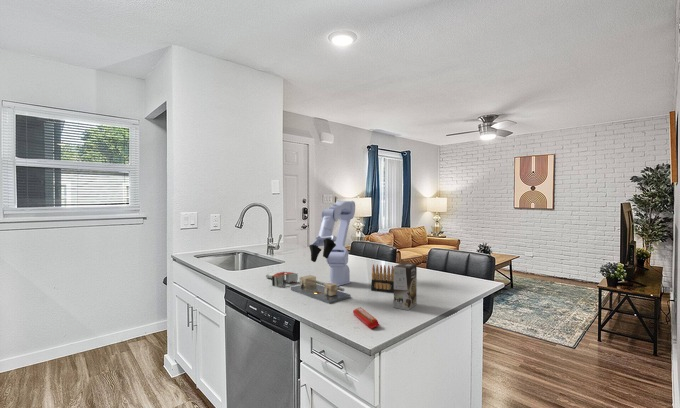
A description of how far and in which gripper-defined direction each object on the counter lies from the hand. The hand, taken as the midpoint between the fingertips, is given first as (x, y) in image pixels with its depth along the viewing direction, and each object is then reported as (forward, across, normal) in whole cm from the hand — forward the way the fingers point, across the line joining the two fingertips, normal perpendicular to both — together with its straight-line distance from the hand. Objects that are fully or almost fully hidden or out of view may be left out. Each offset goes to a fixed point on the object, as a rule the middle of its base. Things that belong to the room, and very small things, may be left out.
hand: (319, 259), depth 141 cm
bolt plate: (+8, -10, +12) cm, 18 cm away
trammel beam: (+7, -10, +12) cm, 17 cm away
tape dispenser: (0, -38, +8) cm, 39 cm away
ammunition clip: (+2, +8, +33) cm, 34 cm away
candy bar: (+25, +23, +9) cm, 35 cm away
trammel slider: (+10, -2, +12) cm, 16 cm away
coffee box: (+12, +25, +28) cm, 39 cm away
